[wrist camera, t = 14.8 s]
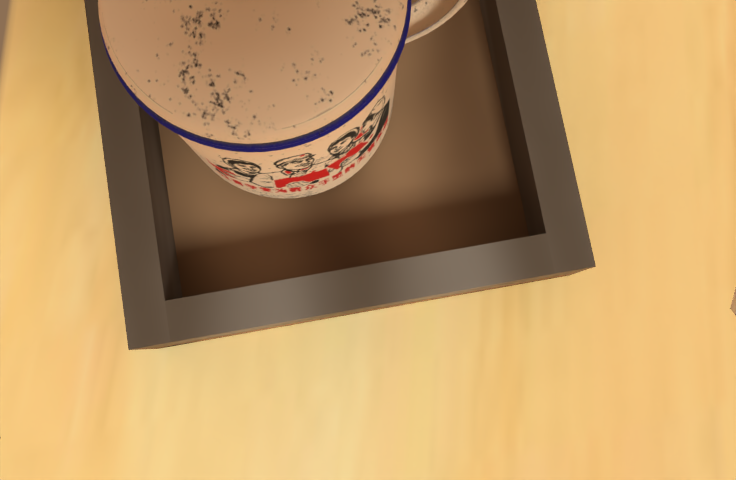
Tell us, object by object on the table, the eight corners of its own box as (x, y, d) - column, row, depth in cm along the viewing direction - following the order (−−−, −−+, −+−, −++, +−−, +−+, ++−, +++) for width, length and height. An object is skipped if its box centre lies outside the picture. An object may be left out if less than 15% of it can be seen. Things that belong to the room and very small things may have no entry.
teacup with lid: (221, 239, 28) (116, 171, 16) (147, 38, 29) (1, -159, 17) (497, 133, 28) (587, -5, 17) (415, -60, 30) (445, -314, 18)
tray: (477, -140, 31) (490, -200, 28) (568, 275, 29) (595, 266, 25) (101, -78, 31) (67, -131, 27) (158, 348, 28) (128, 349, 25)
